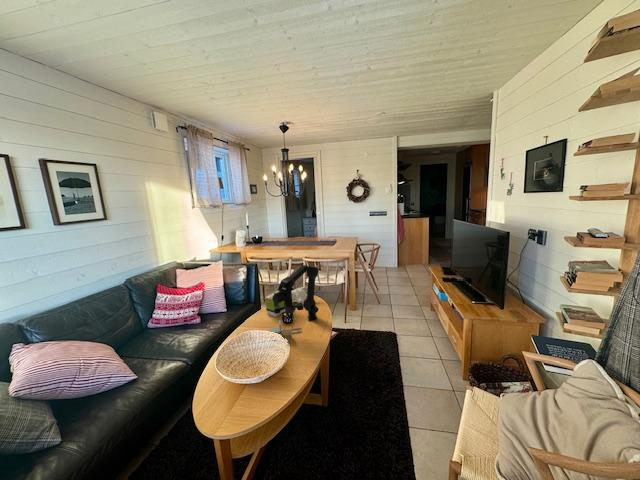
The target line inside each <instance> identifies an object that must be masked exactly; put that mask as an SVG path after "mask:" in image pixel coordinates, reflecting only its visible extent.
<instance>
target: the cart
mask: <svg viewBox="0 0 640 480" xmlns="http://www.w3.org/2000/svg"><path fill="white" fill-rule="evenodd" d="M281 330H282V321H281V320H278V326H273V327H269V328H268V332H269V331H270V332H275V333H278V334H281Z"/></svg>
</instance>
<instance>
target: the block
mask: <svg viewBox="0 0 640 480" xmlns="http://www.w3.org/2000/svg"><path fill="white" fill-rule="evenodd" d="M283 334H284V335H283V337H284V339H285V338H286V339H287V340H288V341H289V342H292V341H293V336H292V335H293V334H291V330H290V331H284V332H283ZM289 342H288V343H289Z"/></svg>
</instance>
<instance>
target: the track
mask: <svg viewBox="0 0 640 480" xmlns="http://www.w3.org/2000/svg"><path fill="white" fill-rule="evenodd" d="M290 330H291V334H292V335H294V334H295V335H296V334H301V333H303V331H302V327H297V328H289V329H281V335H283V336H284V331H290ZM299 330H301V331H299Z"/></svg>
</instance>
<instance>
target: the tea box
mask: <svg viewBox="0 0 640 480" xmlns="http://www.w3.org/2000/svg"><path fill="white" fill-rule="evenodd" d="M277 292H279V291H278V290H276V291H274V292H272V293H271V294H268V295H266V296H265V297H264V300H265V302H264V303H265V310H266V314H267V316H268V315H269V316H271V317H274V318H277V317H279V316H280V315H281V314H283V313H284V312H283V310H280V311H281V312H280V313H277V314H275V312H274V307H275V306H280V307H284V301H282V302H280V303H278V304H275V303H274V302H273V300H272V298H273V296H274V293H277ZM282 312H283V313H282Z"/></svg>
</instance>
